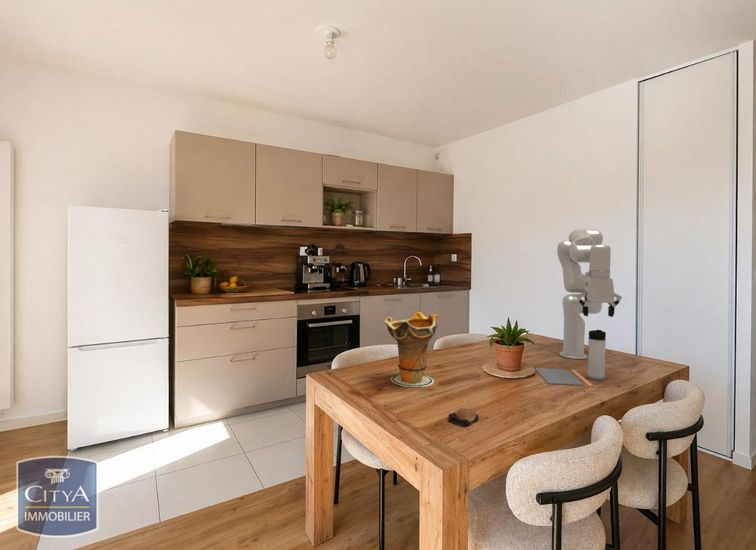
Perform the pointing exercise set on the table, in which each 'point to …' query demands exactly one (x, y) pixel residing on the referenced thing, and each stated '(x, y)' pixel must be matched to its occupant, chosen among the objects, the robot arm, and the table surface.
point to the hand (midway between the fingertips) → (598, 316)
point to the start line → (582, 378)
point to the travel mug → (596, 355)
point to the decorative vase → (412, 348)
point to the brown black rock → (463, 417)
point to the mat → (558, 377)
